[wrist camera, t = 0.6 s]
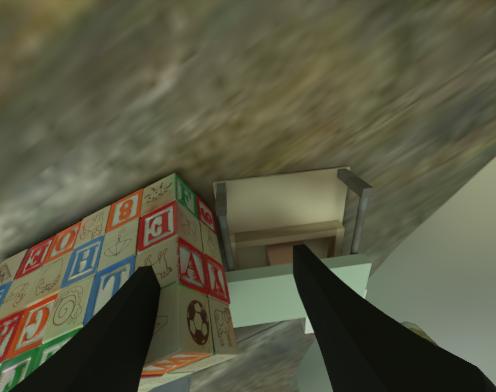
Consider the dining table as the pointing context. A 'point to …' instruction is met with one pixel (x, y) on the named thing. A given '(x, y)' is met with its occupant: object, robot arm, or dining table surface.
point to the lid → (284, 289)
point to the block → (280, 253)
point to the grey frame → (287, 213)
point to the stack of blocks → (114, 276)
